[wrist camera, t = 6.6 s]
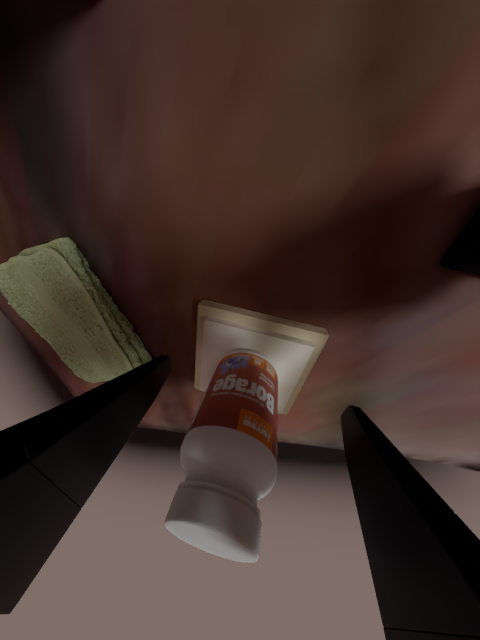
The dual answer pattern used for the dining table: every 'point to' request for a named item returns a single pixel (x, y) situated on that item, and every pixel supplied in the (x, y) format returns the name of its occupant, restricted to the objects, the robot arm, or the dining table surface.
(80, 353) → the washcloth
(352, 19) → the dining table surface
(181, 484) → the pill bottle
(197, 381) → the stand
